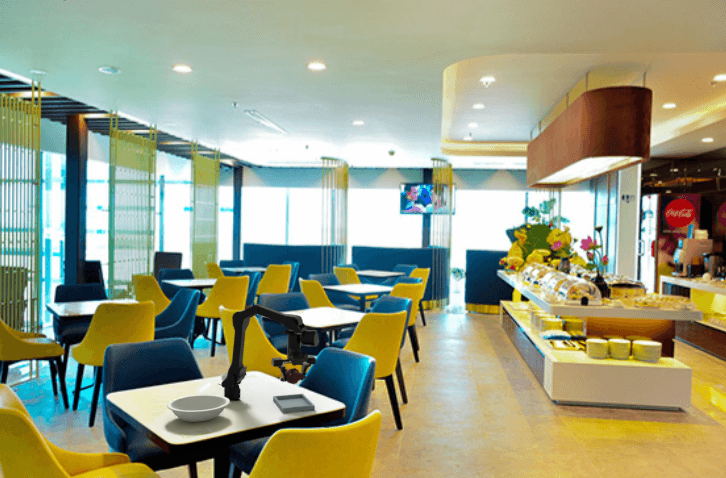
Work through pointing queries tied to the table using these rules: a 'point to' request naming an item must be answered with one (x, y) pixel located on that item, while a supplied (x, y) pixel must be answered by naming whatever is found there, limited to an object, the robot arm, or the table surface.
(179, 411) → the soup bowl
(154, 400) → the table surface
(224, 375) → the teacup
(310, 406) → the tray
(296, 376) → the icecream
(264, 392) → the table surface
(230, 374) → the robot arm
